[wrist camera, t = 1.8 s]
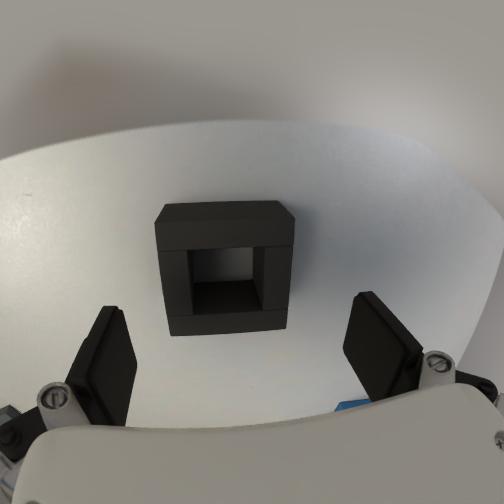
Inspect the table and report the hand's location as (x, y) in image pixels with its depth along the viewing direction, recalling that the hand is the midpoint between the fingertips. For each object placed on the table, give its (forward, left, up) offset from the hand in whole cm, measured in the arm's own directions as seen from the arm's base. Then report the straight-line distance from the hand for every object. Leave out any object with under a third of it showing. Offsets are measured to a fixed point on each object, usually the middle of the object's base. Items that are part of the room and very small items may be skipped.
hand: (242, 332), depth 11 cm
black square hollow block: (0, 0, -7) cm, 7 cm away
